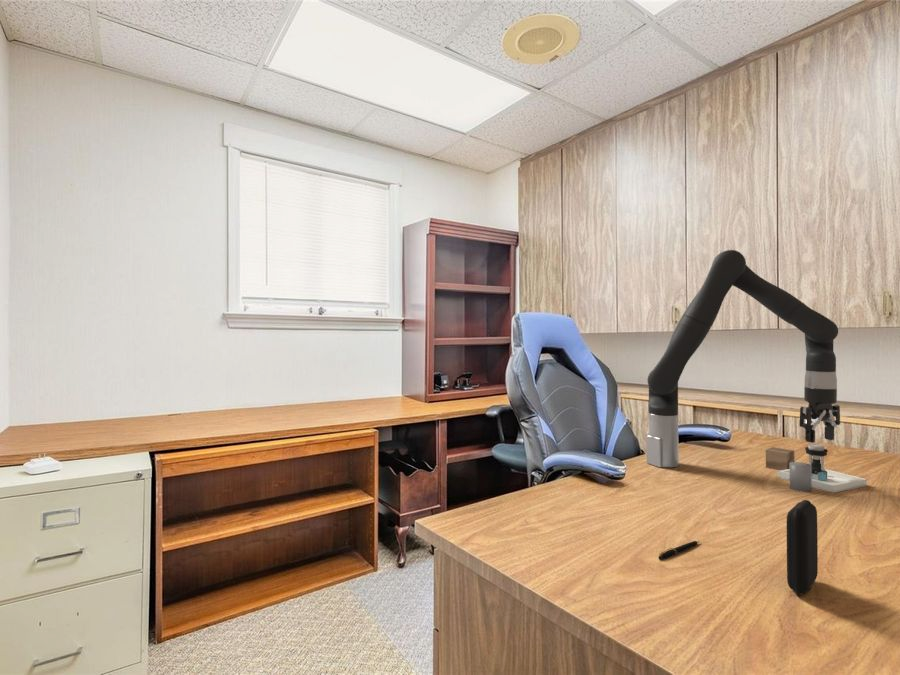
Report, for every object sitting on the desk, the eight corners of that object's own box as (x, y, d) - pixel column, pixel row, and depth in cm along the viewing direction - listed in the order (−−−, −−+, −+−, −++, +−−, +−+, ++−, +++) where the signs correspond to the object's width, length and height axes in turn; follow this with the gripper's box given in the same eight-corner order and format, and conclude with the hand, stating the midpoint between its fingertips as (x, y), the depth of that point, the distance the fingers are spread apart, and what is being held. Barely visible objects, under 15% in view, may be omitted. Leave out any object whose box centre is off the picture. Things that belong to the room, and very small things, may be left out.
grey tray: (832, 492, 128) (832, 485, 128) (777, 477, 142) (777, 470, 142) (866, 486, 133) (866, 479, 133) (810, 471, 147) (810, 465, 147)
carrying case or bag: (800, 572, 86) (800, 493, 86) (821, 579, 84) (820, 498, 84) (784, 594, 79) (783, 508, 79) (806, 601, 77) (805, 513, 77)
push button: (835, 480, 137) (835, 446, 137) (832, 484, 133) (831, 449, 133) (807, 475, 142) (807, 442, 141) (803, 479, 138) (803, 445, 138)
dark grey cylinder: (803, 492, 128) (803, 467, 128) (785, 487, 133) (785, 463, 133) (815, 490, 130) (815, 465, 130) (797, 485, 135) (797, 461, 135)
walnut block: (787, 472, 147) (787, 453, 147) (765, 467, 152) (765, 449, 152) (794, 468, 151) (794, 450, 151) (773, 464, 156) (773, 446, 156)
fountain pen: (697, 542, 100) (697, 535, 100) (703, 544, 99) (702, 537, 99) (655, 560, 92) (655, 552, 92) (661, 562, 91) (660, 555, 91)
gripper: (822, 384, 143) (821, 436, 143) (790, 385, 138) (790, 440, 138) (850, 386, 136) (849, 441, 136) (818, 388, 131) (817, 445, 131)
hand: (819, 440), depth 137 cm, fingers open, 8 cm apart
